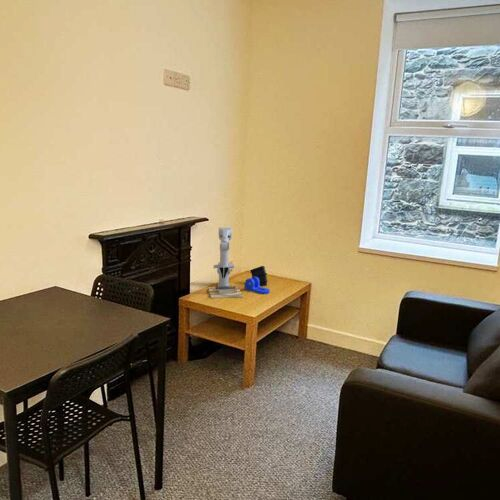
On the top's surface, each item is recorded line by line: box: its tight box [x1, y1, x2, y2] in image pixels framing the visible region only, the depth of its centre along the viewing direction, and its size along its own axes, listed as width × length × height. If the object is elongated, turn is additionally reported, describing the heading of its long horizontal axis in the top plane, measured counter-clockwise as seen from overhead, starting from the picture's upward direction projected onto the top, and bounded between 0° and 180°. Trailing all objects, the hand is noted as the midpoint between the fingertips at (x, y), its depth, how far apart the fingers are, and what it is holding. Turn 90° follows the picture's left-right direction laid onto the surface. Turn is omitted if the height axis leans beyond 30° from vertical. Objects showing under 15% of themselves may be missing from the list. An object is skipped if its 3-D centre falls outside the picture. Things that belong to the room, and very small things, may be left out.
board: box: [208, 286, 244, 299], centre depth 314 cm, size 20×22×1 cm
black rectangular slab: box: [249, 265, 269, 287], centre depth 337 cm, size 4×13×15 cm, turn 66°
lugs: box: [212, 285, 237, 293], centre depth 314 cm, size 6×17×4 cm, turn 101°
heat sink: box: [217, 285, 233, 294], centre depth 314 cm, size 10×10×3 cm
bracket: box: [244, 276, 271, 295], centre depth 322 cm, size 18×8×9 cm, turn 54°
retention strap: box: [214, 285, 237, 290], centre depth 314 cm, size 4×15×2 cm, turn 101°
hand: (223, 277), depth 315 cm, fingers closed
